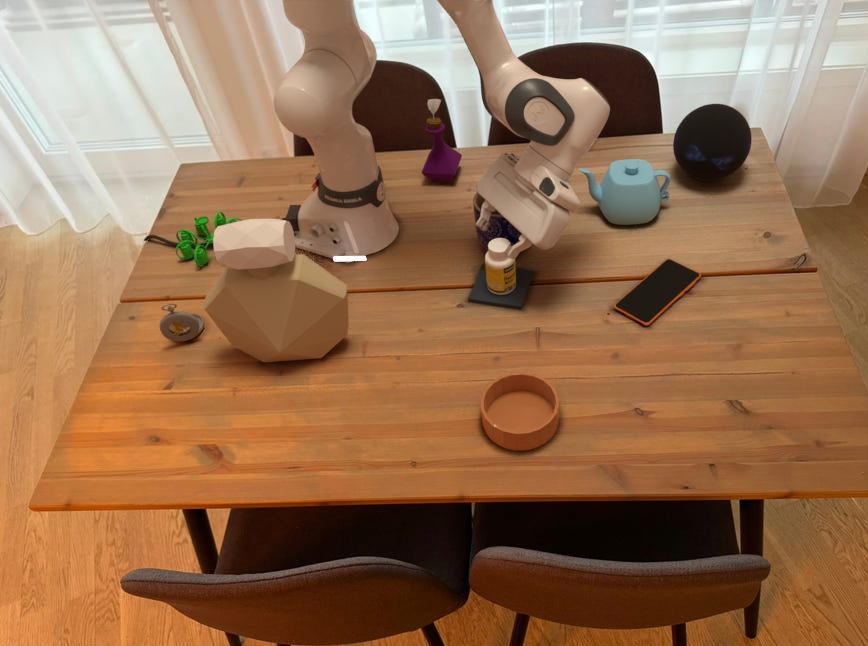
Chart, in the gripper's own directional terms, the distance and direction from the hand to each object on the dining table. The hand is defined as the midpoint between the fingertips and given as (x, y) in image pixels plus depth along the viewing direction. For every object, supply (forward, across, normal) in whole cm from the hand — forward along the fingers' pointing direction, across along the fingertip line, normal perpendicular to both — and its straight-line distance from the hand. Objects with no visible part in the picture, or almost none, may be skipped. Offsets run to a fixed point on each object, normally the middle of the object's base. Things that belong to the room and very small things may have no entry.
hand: (494, 242), depth 131 cm
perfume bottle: (+1, -38, +15) cm, 40 cm away
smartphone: (-8, +18, +24) cm, 31 cm away
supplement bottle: (+7, +1, +8) cm, 11 cm away
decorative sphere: (-30, -4, +46) cm, 55 cm away
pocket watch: (+46, -24, -29) cm, 59 cm away
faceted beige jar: (+35, -8, -18) cm, 40 cm away
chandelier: (+37, -46, -20) cm, 62 cm away
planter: (+2, -10, +14) cm, 17 cm away
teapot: (-15, -5, +31) cm, 35 cm away
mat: (+7, 0, +8) cm, 11 cm away
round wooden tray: (+17, +28, -2) cm, 33 cm away
